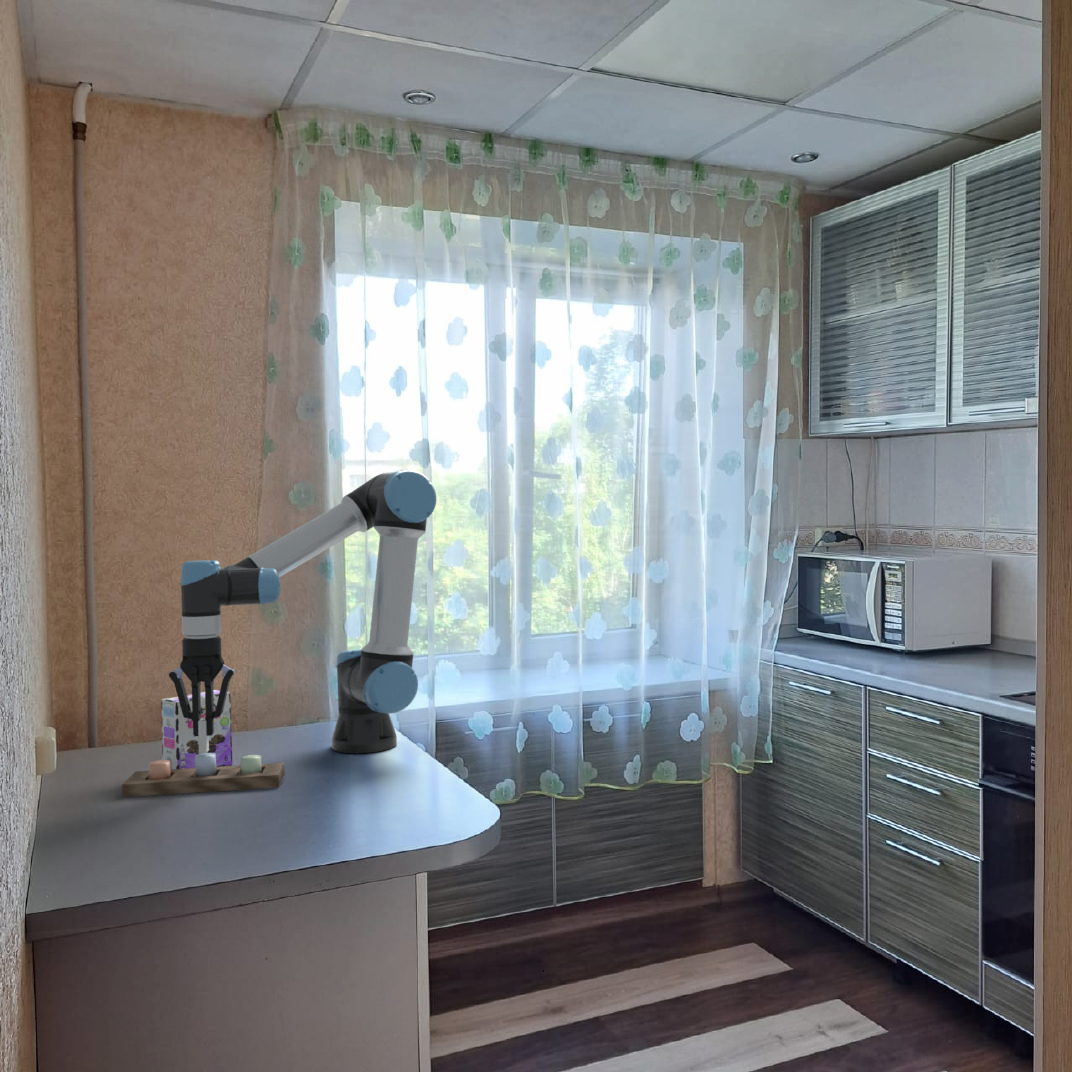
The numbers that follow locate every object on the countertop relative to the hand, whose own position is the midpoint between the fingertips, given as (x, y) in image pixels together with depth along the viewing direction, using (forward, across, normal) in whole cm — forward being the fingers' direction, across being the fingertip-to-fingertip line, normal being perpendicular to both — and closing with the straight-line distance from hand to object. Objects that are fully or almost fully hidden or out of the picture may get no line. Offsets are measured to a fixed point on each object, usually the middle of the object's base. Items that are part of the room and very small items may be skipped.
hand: (203, 751), depth 199 cm
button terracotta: (+6, +9, 0) cm, 10 cm away
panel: (+7, 0, 0) cm, 7 cm away
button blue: (+5, 0, 0) cm, 5 cm away
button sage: (+6, -9, 0) cm, 11 cm away
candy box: (+7, +4, -14) cm, 16 cm away
